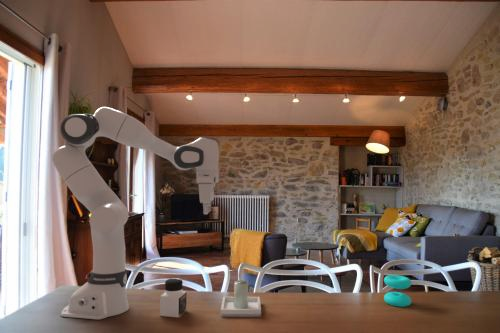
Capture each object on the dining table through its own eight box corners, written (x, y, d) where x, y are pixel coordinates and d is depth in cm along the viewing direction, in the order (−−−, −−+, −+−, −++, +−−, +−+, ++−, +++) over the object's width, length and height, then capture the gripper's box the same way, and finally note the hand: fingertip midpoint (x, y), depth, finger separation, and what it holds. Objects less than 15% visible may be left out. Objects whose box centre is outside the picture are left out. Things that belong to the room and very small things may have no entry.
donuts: (387, 280, 142) (381, 273, 152) (387, 307, 142) (381, 298, 151) (415, 281, 141) (406, 274, 151) (415, 308, 141) (406, 299, 150)
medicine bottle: (178, 318, 128) (179, 282, 129) (159, 316, 130) (160, 281, 130) (186, 310, 135) (187, 277, 136) (168, 309, 137) (168, 276, 137)
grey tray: (220, 316, 130) (220, 309, 130) (223, 303, 144) (223, 296, 144) (261, 317, 130) (261, 309, 130) (259, 303, 144) (259, 296, 144)
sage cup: (233, 309, 134) (234, 283, 135) (234, 304, 140) (234, 279, 140) (248, 309, 135) (248, 284, 135) (248, 304, 140) (248, 280, 140)
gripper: (202, 178, 159) (202, 210, 159) (196, 178, 139) (196, 215, 139) (217, 178, 159) (216, 210, 159) (213, 178, 139) (213, 215, 139)
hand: (207, 213), depth 149 cm, fingers open, 8 cm apart
